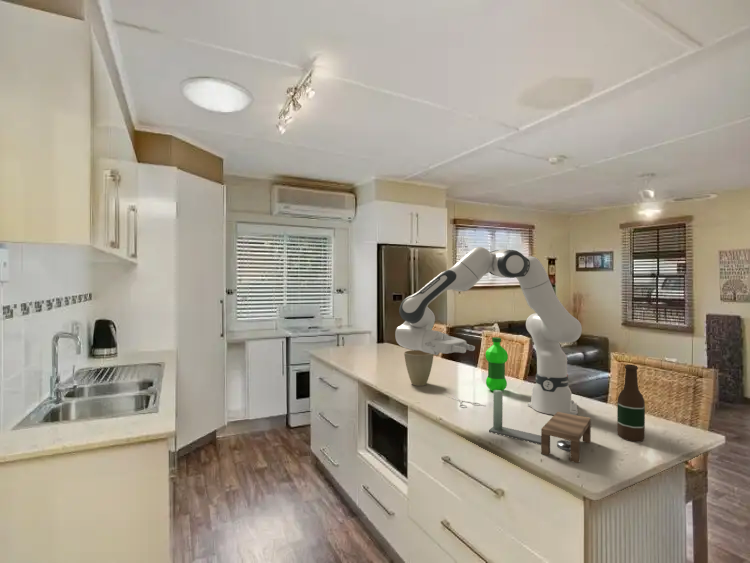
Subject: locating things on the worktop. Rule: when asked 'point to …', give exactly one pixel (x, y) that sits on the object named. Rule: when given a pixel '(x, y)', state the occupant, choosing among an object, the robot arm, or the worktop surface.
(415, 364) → the plant pot
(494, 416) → the cylinder
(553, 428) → the bench
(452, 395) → the scissors
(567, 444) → the silver flat disc
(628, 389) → the beer bottle
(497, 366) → the plastic bottle
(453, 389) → the worktop surface
